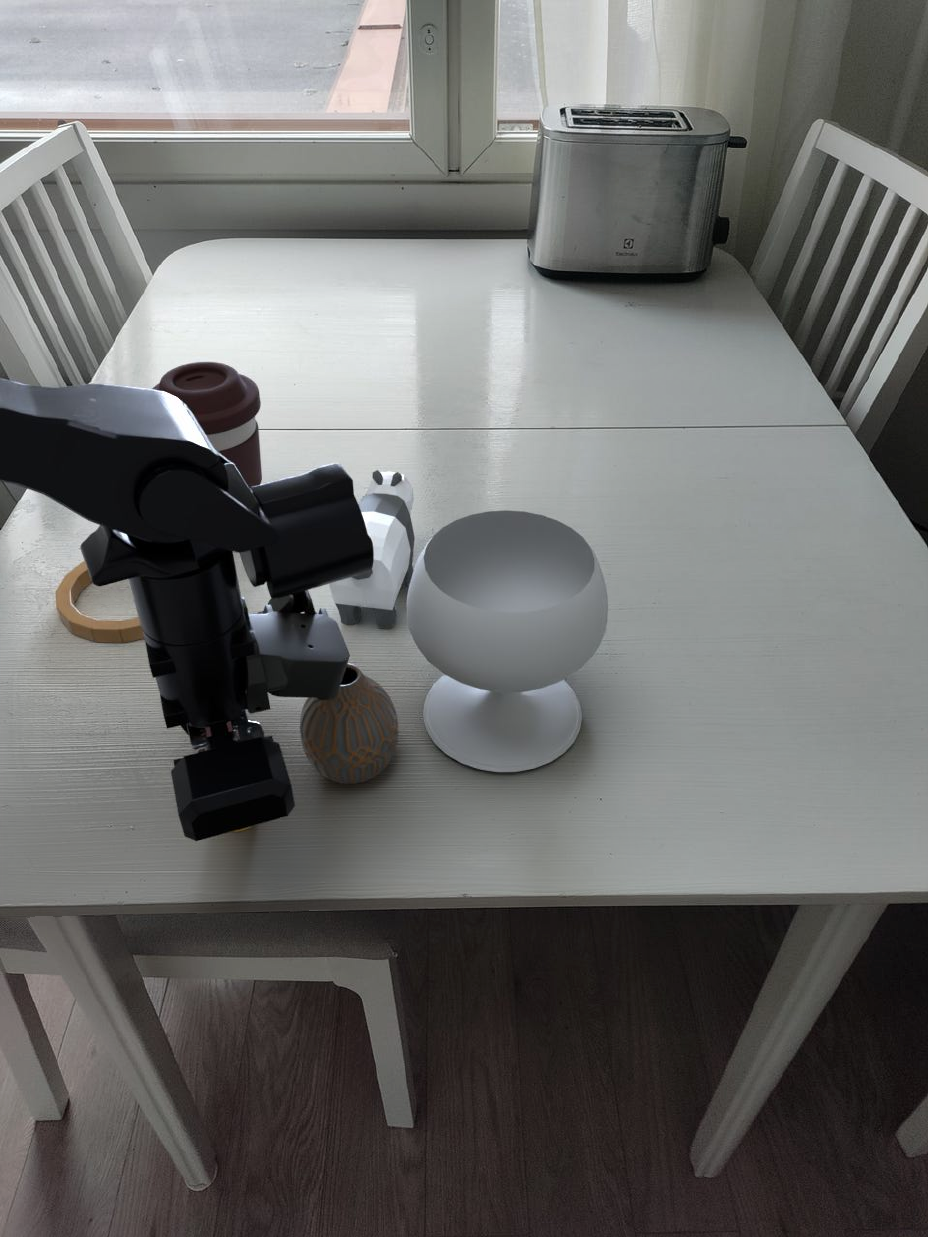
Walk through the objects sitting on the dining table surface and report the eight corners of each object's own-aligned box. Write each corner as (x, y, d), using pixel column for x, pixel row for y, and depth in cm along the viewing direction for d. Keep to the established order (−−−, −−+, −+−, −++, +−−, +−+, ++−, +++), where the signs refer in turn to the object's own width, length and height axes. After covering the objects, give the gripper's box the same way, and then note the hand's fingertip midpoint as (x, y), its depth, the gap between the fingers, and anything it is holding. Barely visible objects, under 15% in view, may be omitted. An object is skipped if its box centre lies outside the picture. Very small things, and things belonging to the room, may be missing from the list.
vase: (355, 815, 66) (346, 727, 60) (285, 768, 69) (270, 681, 64) (419, 756, 70) (416, 668, 65) (350, 714, 74) (341, 627, 68)
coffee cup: (266, 550, 90) (243, 404, 80) (161, 547, 90) (126, 402, 80) (284, 492, 97) (265, 353, 88) (187, 490, 98) (158, 351, 88)
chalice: (546, 638, 80) (558, 485, 71) (626, 755, 71) (653, 596, 61) (387, 678, 77) (377, 523, 67) (448, 808, 67) (447, 648, 57)
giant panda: (394, 639, 80) (388, 546, 74) (330, 631, 81) (320, 539, 75) (429, 540, 91) (427, 451, 85) (373, 533, 92) (367, 446, 86)
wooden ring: (140, 658, 78) (136, 645, 77) (30, 619, 82) (25, 605, 81) (226, 578, 86) (223, 565, 86) (122, 546, 90) (118, 533, 89)
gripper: (374, 687, 50) (387, 866, 60) (295, 501, 63) (317, 673, 73) (155, 741, 47) (208, 920, 57) (121, 534, 60) (169, 709, 70)
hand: (233, 791), depth 65 cm, fingers open, 4 cm apart
